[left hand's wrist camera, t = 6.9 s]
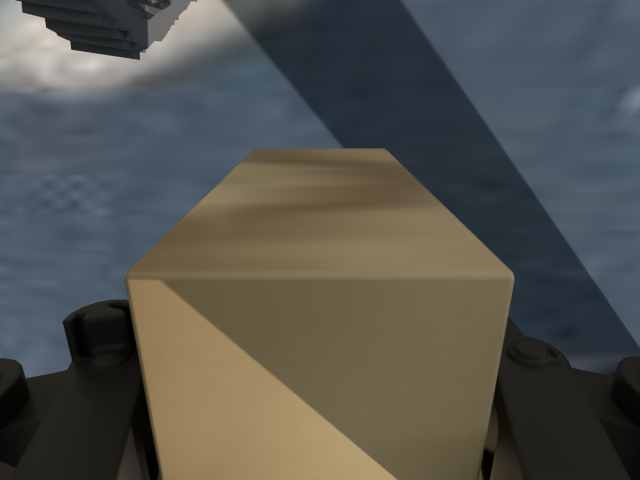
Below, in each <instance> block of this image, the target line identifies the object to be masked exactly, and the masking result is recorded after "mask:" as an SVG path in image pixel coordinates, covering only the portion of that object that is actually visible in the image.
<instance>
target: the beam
mask: <svg viewBox="0 0 640 480" xmlns="http://www.w3.org/2000/svg"><path fill="white" fill-rule="evenodd" d="M125 285H126V290H127V296H128V301H129V307H130V312H131V318H132V323H133V329H134V334H135V340H136V345H137V351H138V356H139V362H140V367H141V373H142V378H143V384H144V390H145V395H146V401H147V406H148V412H149V417H150V423H151V428H152V434H153V439H154V445H155V450H156V456H157V461H158V467H159V472H160V478H161V480H479V474H480V469H481V463H482V458H483V452H484V446H485V441H486V435H487V430H488V424H489V419H490V413H491V408H492V402H493V396H494V391H495V385H496V380H497V374H498V369H499V363H500V358H501V352H502V347H503V341H504V335H505V330H506V324H507V319H508V313H509V308H510V302H511V297H512V291H513V285H514V275H513V272H512V271H511V270H510V269H509V268H508V267H507V266H506V265H505V264H504V263H503V262H502V261H501V260H500V259H499V258H497V257H496V256H495V255H494V254H493V253H492V252H491V251H490V250H489V249H488V248H487V247H486V246H485V245H484V244H483V243H482V242H481V241H480V240H479V239H478V238H477V237H476V236H475V235H474V234H473V233H472V232H471V231H470V230H469V229H468V228H467V227H466V226H464V225H463V224H462V223H461V222H460V221H459V220H458V219H457V218H456V217H455V216H454V215H453V214H452V213H451V212H450V211H449V210H448V209H447V208H446V207H445V206H444V205H443V204H442V203H441V202H440V201H439V200H438V199H437V198H436V197H435V196H434V195H433V194H431V193H430V192H429V191H428V190H427V189H426V188H425V187H424V186H423V185H422V184H421V183H420V182H419V181H418V180H417V179H416V178H415V177H414V176H413V175H412V174H411V173H410V172H409V171H408V170H407V169H406V168H405V167H404V166H403V165H402V164H401V163H400V162H398V161H397V160H396V159H395V158H394V157H393V156H392V155H391V154H390V153H389V152H388V151H387V150H386V149H254V150H253V151H252V152H251V153H250V154H249V155H247V156H246V157H245V158H244V159H243V160H242V161H241V162H240V163H239V164H238V165H237V166H236V167H235V168H234V169H233V170H232V171H231V172H230V173H229V174H228V175H227V176H226V177H225V178H224V179H223V180H222V181H221V182H219V183H218V184H217V185H216V186H215V187H214V188H213V189H212V190H211V191H210V192H209V193H208V194H207V195H206V196H205V197H204V198H203V199H202V200H201V201H200V202H199V203H198V204H197V205H196V206H195V207H194V208H193V209H191V210H190V211H189V212H188V213H187V214H186V215H185V216H184V217H183V218H182V219H181V220H180V221H179V222H178V223H177V224H176V225H175V226H174V227H173V228H172V229H171V230H170V231H169V232H168V233H167V234H166V235H165V236H163V237H162V238H161V239H160V240H159V241H158V242H157V243H156V244H155V245H154V246H153V247H152V248H151V249H150V250H149V251H148V252H147V253H146V254H145V255H144V256H143V257H142V258H141V259H140V260H139V261H138V262H137V263H135V264H134V265H133V266H132V267H131V268H130V269H129V270H128V271H127V272H126V275H125Z"/></svg>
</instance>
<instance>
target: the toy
mask: <svg viewBox="0 0 640 480" xmlns="http://www.w3.org/2000/svg"><path fill="white" fill-rule="evenodd" d="M17 1H21V2H22V12H23V13H27V14H31V15H35V16H39V17H43V18H45V22H46V28H48V29H50V30H52V31H54V32H56V33H57V35H58V36H60V37H62V38H64V39H67V40H69V41H71V50H77V51H84V52H90V53H97V54H104V55H110V56H117V57H124V58H131V59H137V60H140V52H143V53H145V52H146V49H147V48H148V47H149V46H150V45H151V44H152V43H153V42H154V41H162V40H163V38H164V37H165V36H166V35H167V33H168V31H169V30H170V27H171V25H174V21H175V20H178V16H179V15H180V14H181V13H182V12H183V11H184V10H186V9H187V7H188V5H189V4H190V1H195V2H197V0H17Z"/></svg>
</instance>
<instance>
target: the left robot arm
mask: <svg viewBox="0 0 640 480" xmlns="http://www.w3.org/2000/svg"><path fill="white" fill-rule="evenodd" d="M63 325H64V329H65V333H66V337H67V341H68V345H69V349H70V353H71V357H72V362H71V364H70V366H69V368H68V370H65V371H61V372H57V373H52V374H46V375H41V376H36V377H31V378H25V374H24V371H23V368H22V365H21V364H20V363H19V362H17V361H16V360H12V359H5V358H2V359H0V480H161V478H160V472H159V467H158V461H157V456H156V450H155V445H154V439H153V434H152V428H151V423H150V417H149V412H148V406H147V401H146V395H145V390H144V384H143V378H142V373H141V367H140V362H139V356H138V351H137V345H136V340H135V334H134V329H133V323H132V318H131V312H130V307H129V301H128V300H108V301H102V302H97V303H94V304H91V305H88V306H85V307H82V308H80V309H78V310H77V311H75V312H73V313H71V314H70V315H69V316H68V317H67V318H66V319H65V320H64V321H63ZM479 480H640V357H639V356H635V357H628V358H624V359H623V360H622V361H620V362H619V363H618V367H617V370H616V373H615V377H614V376H609V375H604V374H598V373H593V372H588V371H583V370H578V369H574V368H572V367H571V365H570V363H569V361H568V360H567V359H566V357H565V356H564V355H563V354H562V353H561V352H560V351H559V350H557V349H556V348H554V347H553V346H551V345H550V344H547V343H545V342H542V341H540V340H537V339H534V338H530V337H525V336H523V334H522V333H521V332H520V331H519V329H518V328H517V327H516V326H515V324H514V323H513V322H512V321H511V320H510V318H509V317H508V319H507V324H506V330H505V335H504V341H503V347H502V352H501V358H500V363H499V369H498V374H497V380H496V385H495V391H494V396H493V402H492V408H491V413H490V419H489V424H488V430H487V435H486V441H485V446H484V452H483V458H482V463H481V469H480V474H479Z"/></svg>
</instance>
